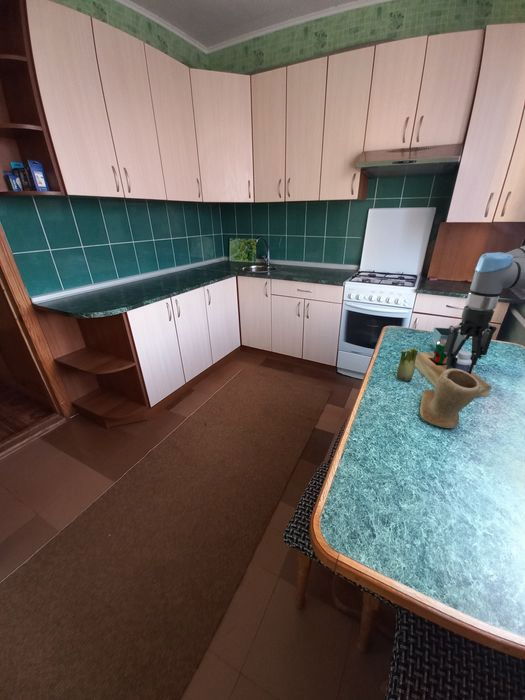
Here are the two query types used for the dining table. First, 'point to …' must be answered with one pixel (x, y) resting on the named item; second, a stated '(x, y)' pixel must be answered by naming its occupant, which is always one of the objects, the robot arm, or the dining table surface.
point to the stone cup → (448, 398)
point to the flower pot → (440, 334)
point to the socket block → (434, 371)
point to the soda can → (440, 353)
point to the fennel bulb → (407, 364)
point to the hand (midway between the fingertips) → (457, 373)
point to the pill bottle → (463, 360)
